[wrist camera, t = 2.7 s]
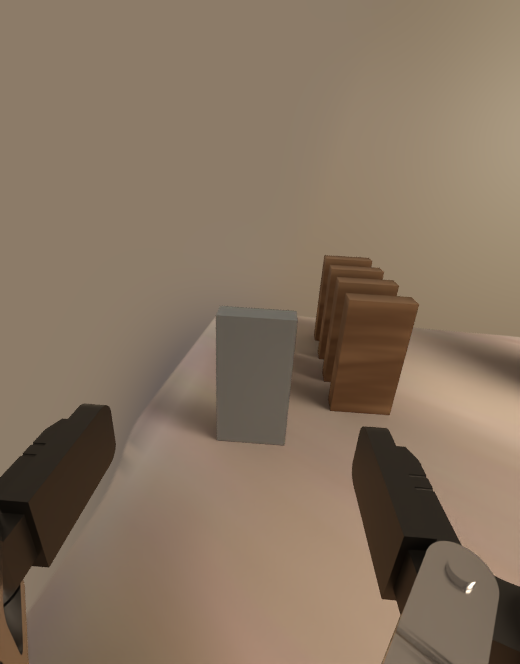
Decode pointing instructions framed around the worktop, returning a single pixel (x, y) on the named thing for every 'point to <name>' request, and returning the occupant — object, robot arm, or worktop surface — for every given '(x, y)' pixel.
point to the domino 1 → (254, 373)
